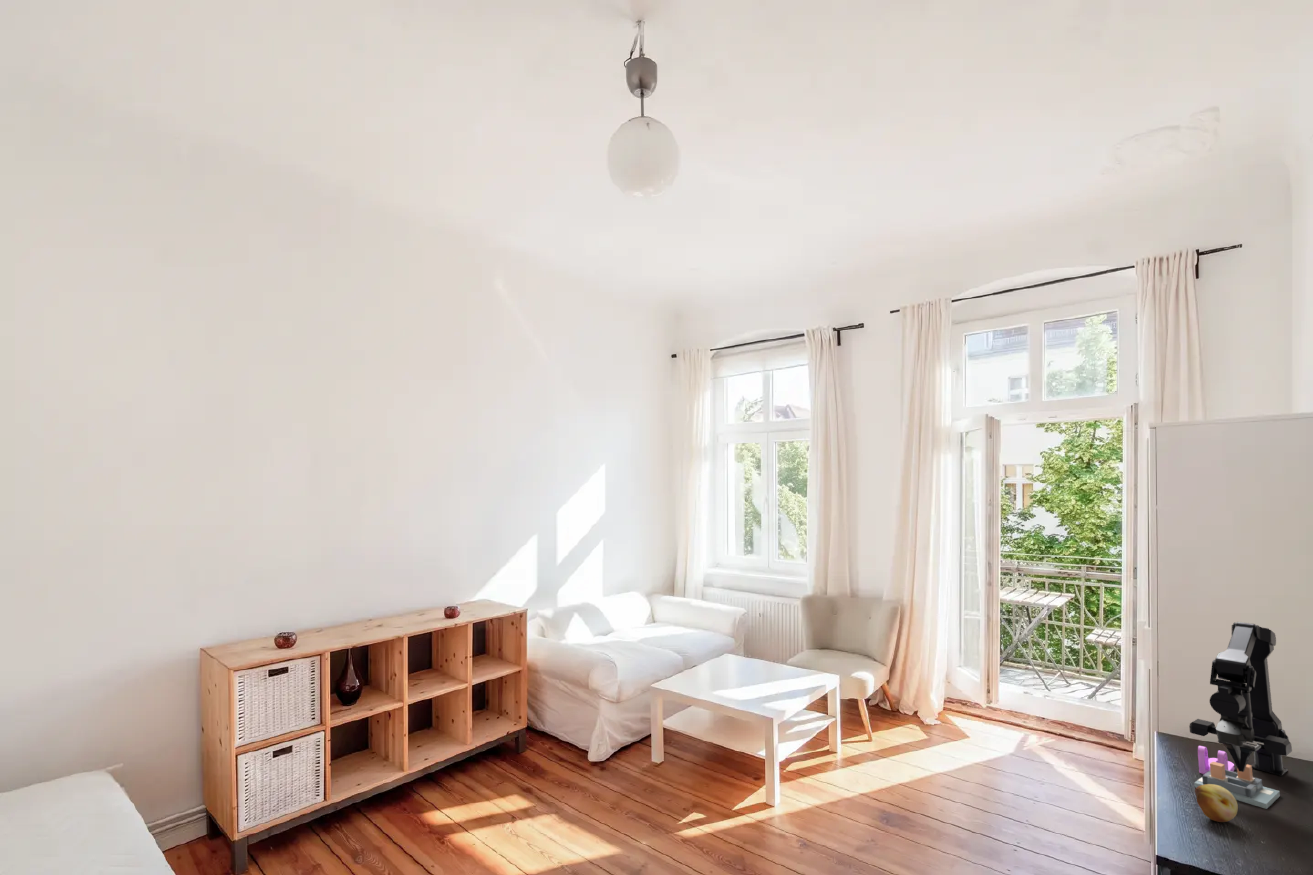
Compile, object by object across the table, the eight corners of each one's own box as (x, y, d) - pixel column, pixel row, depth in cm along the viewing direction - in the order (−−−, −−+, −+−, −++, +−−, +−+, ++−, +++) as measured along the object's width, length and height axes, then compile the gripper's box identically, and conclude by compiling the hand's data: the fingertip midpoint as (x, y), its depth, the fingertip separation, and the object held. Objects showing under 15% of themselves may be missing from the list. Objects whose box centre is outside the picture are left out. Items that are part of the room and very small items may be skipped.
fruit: (1199, 823, 148) (1196, 787, 149) (1194, 808, 155) (1192, 774, 155) (1242, 832, 143) (1239, 796, 144) (1236, 817, 150) (1233, 782, 151)
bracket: (1225, 780, 170) (1223, 753, 171) (1199, 773, 175) (1197, 747, 175) (1236, 767, 178) (1234, 742, 179) (1210, 761, 183) (1208, 736, 183)
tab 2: (1240, 781, 166) (1238, 761, 166) (1255, 785, 164) (1253, 765, 164) (1236, 784, 164) (1234, 764, 165) (1251, 788, 162) (1250, 768, 162)
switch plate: (1209, 775, 173) (1208, 763, 173) (1279, 795, 161) (1278, 782, 161) (1194, 787, 166) (1193, 774, 166) (1266, 808, 154) (1265, 795, 155)
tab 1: (1213, 780, 167) (1211, 760, 167) (1228, 784, 164) (1226, 764, 165) (1209, 783, 165) (1207, 763, 165) (1224, 787, 163) (1222, 767, 163)
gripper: (1179, 704, 166) (1184, 765, 164) (1277, 725, 150) (1283, 793, 149) (1194, 696, 172) (1199, 755, 170) (1289, 716, 156) (1295, 781, 155)
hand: (1241, 770), depth 161 cm, fingers closed
